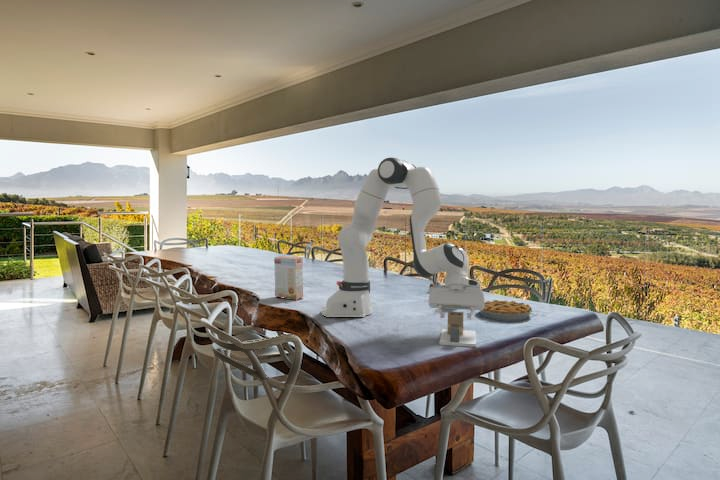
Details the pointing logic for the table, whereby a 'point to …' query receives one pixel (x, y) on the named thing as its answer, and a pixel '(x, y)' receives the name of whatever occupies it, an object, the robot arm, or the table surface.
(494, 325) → the table surface
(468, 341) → the base plate
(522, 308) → the pie
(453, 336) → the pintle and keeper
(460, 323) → the wooden pencil holder
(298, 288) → the cracker box
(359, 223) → the robot arm
